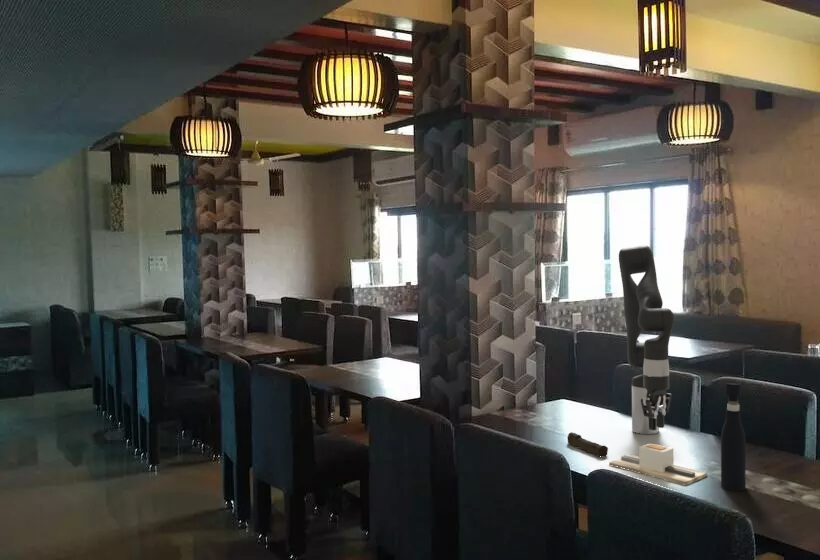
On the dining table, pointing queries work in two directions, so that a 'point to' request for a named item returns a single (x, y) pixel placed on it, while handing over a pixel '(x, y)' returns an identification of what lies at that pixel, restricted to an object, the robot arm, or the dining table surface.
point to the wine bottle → (733, 443)
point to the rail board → (670, 474)
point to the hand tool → (586, 445)
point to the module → (655, 457)
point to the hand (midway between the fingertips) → (656, 428)
